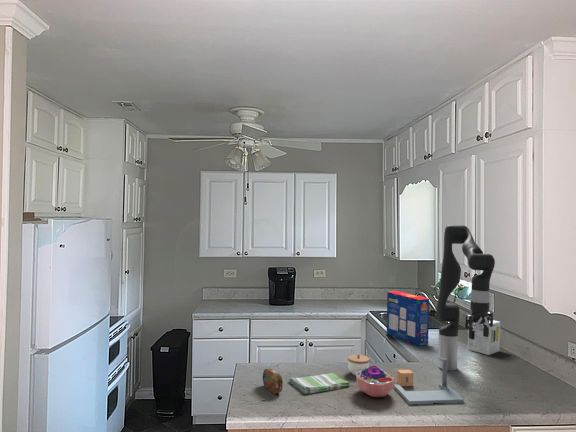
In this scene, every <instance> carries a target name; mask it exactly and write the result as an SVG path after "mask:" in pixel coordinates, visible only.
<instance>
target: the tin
mask: <svg viewBox="0 0 576 432" xmlns="http://www.w3.org/2000/svg"><path fill="white" fill-rule="evenodd" d="M262 372H263V373H262V381H263V382H262V383H263V387H265V388H266V389H267V390H268V391H269V392H271V393H272V394H273V395H276V394H280V393H281V392H282V391H283V383H284V382H283V377H282V375H281V374H280V373H279V372H277V371H276V370H274V369H273V368H265V369H263V371H262Z"/></svg>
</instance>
